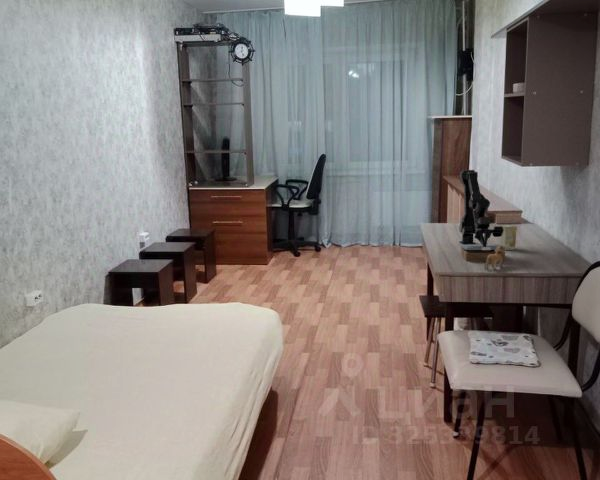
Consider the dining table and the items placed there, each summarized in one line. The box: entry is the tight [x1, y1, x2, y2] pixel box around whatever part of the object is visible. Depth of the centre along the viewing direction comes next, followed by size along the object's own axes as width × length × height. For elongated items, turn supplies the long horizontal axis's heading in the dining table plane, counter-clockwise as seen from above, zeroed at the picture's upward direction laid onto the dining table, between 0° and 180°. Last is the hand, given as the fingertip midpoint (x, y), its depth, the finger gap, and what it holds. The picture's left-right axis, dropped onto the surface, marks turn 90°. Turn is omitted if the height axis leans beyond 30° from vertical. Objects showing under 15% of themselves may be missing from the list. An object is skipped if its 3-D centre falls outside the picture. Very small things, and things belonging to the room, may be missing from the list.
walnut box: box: [460, 246, 506, 262], centre depth 277 cm, size 12×18×4 cm, turn 87°
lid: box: [460, 243, 506, 251], centre depth 276 cm, size 13×18×1 cm
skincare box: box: [499, 224, 518, 251], centre depth 291 cm, size 6×4×12 cm
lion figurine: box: [484, 246, 506, 271], centre depth 259 cm, size 15×5×9 cm, turn 138°
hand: (485, 246), depth 271 cm, fingers closed, pressing on lid
